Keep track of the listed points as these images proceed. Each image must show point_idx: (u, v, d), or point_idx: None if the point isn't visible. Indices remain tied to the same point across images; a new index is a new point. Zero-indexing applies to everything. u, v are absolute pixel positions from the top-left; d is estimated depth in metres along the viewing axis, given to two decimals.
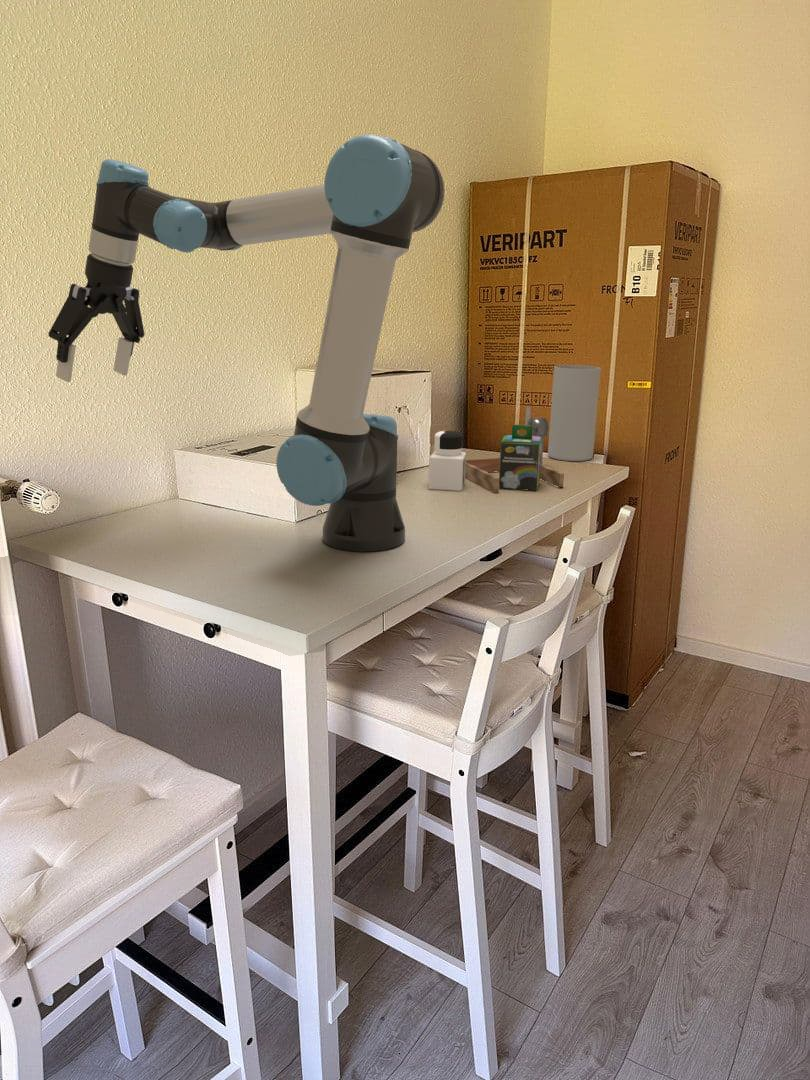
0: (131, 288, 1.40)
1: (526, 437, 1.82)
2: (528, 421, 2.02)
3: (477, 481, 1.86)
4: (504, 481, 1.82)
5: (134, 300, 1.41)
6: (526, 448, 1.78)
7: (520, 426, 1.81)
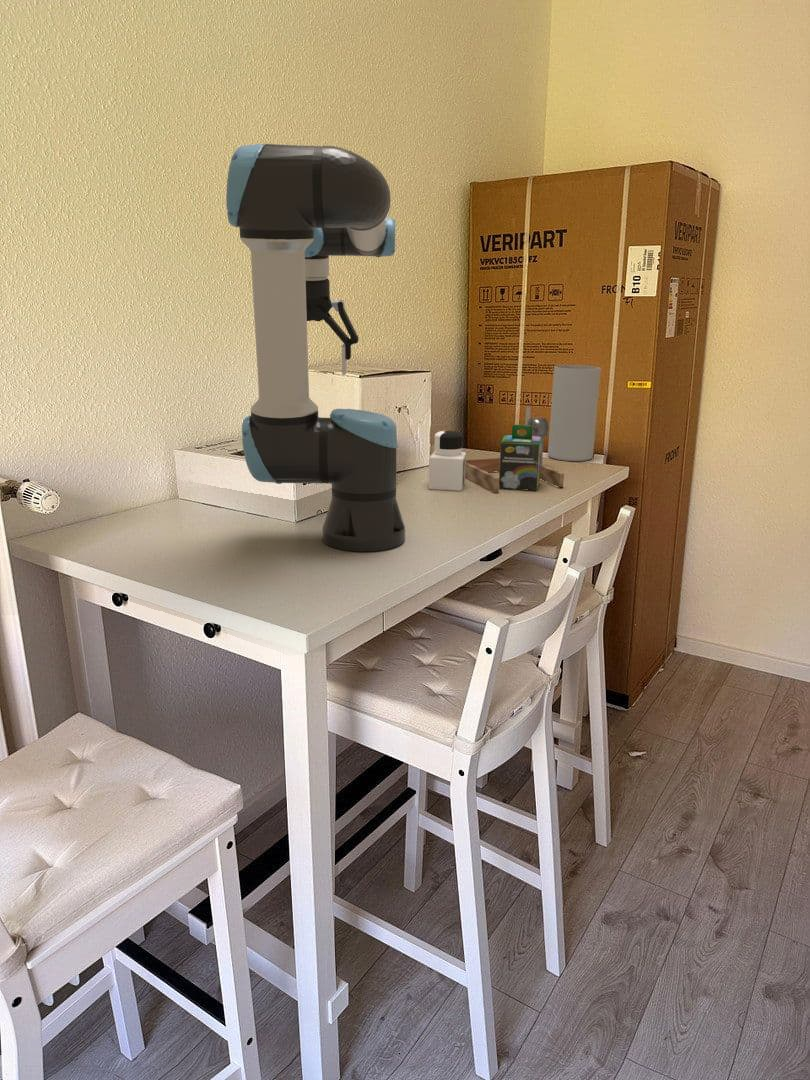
0: (338, 301, 1.74)
1: (526, 437, 1.82)
2: (528, 421, 2.02)
3: (477, 481, 1.86)
4: (504, 481, 1.82)
5: (339, 310, 1.74)
6: (526, 448, 1.78)
7: (520, 426, 1.81)
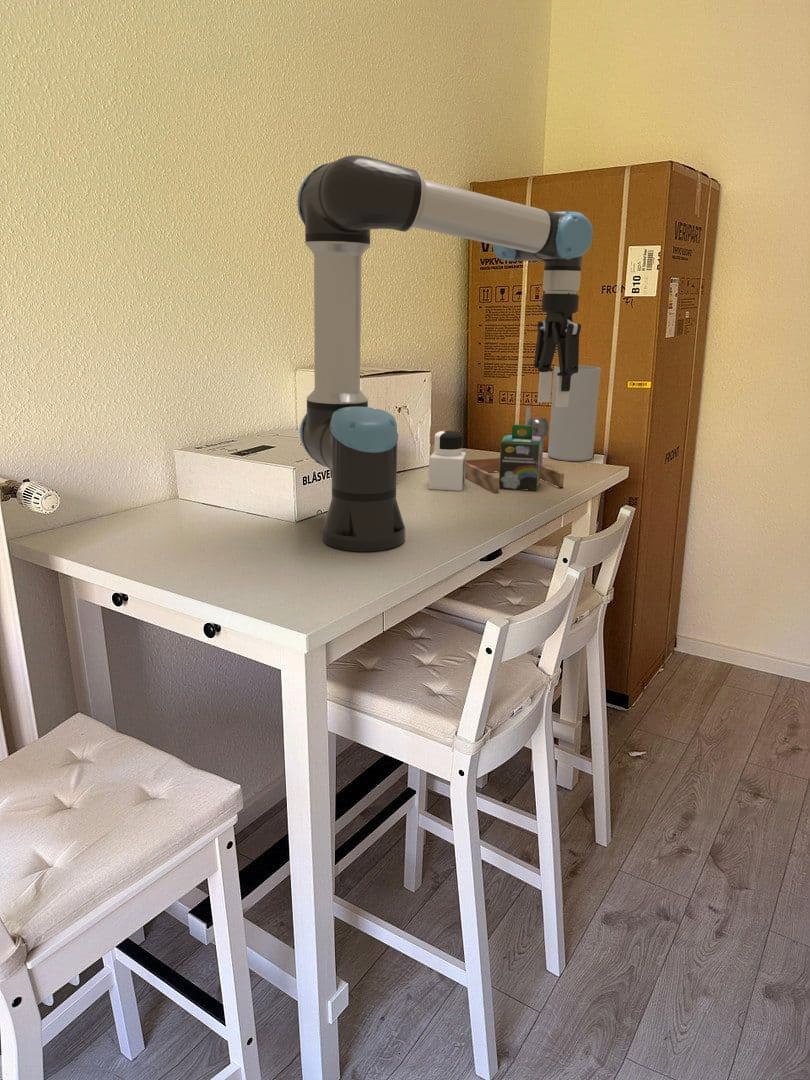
0: (572, 323, 1.58)
1: (526, 437, 1.82)
2: (528, 421, 2.02)
3: (477, 481, 1.86)
4: (504, 481, 1.82)
5: (566, 332, 1.58)
6: (526, 448, 1.78)
7: (520, 426, 1.81)
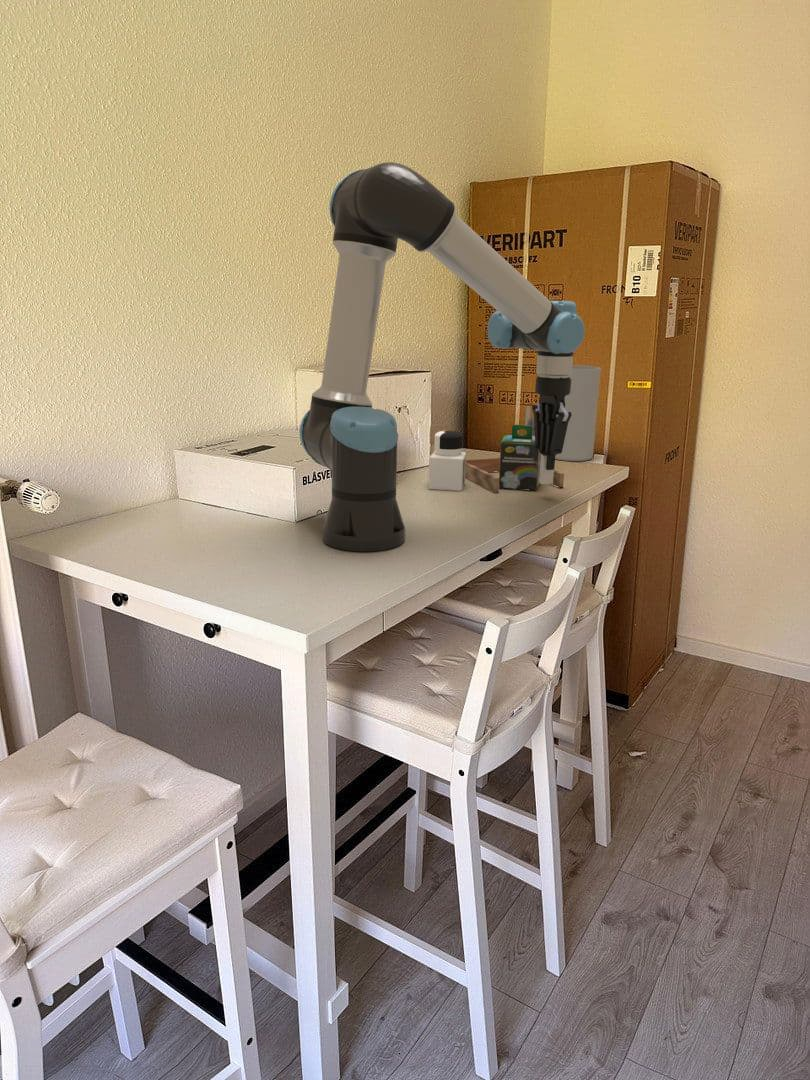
0: (564, 412, 1.64)
1: (526, 437, 1.82)
2: (528, 421, 2.02)
3: (477, 481, 1.86)
4: (504, 481, 1.82)
5: (557, 418, 1.65)
6: (526, 447, 1.78)
7: (520, 426, 1.81)
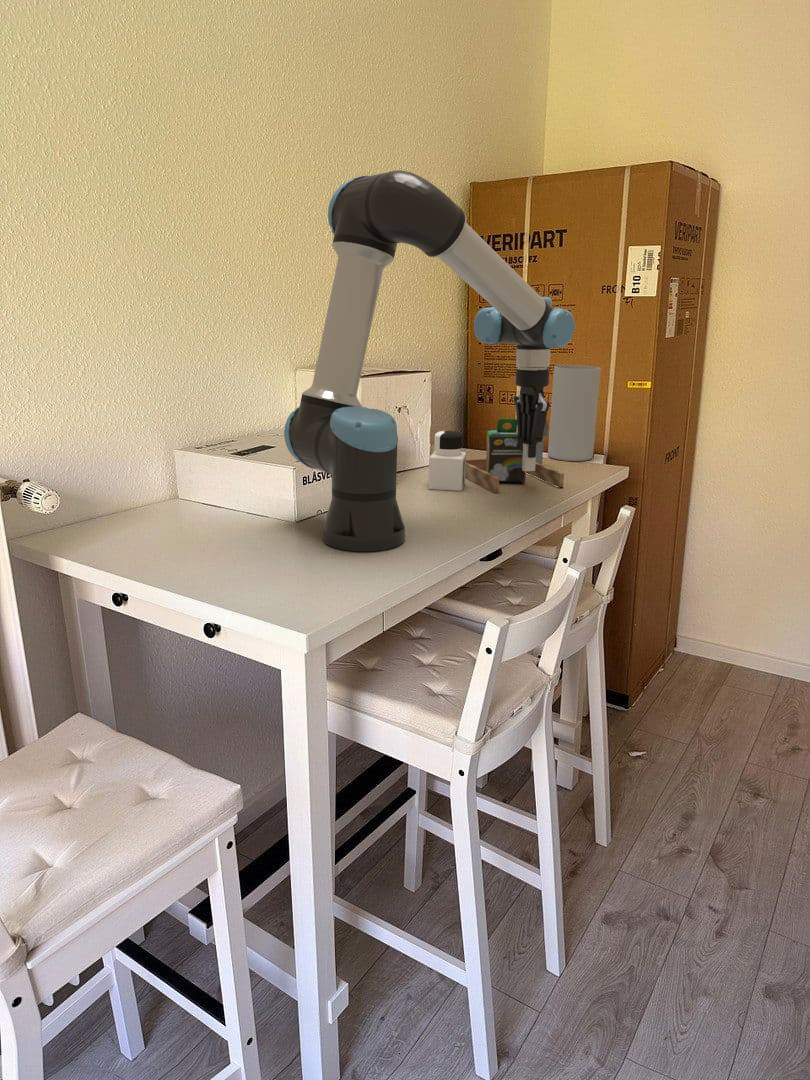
0: (542, 402, 1.73)
1: (511, 430, 1.88)
2: None
3: (477, 481, 1.86)
4: (494, 474, 1.87)
5: (536, 408, 1.74)
6: (514, 440, 1.84)
7: (505, 420, 1.87)
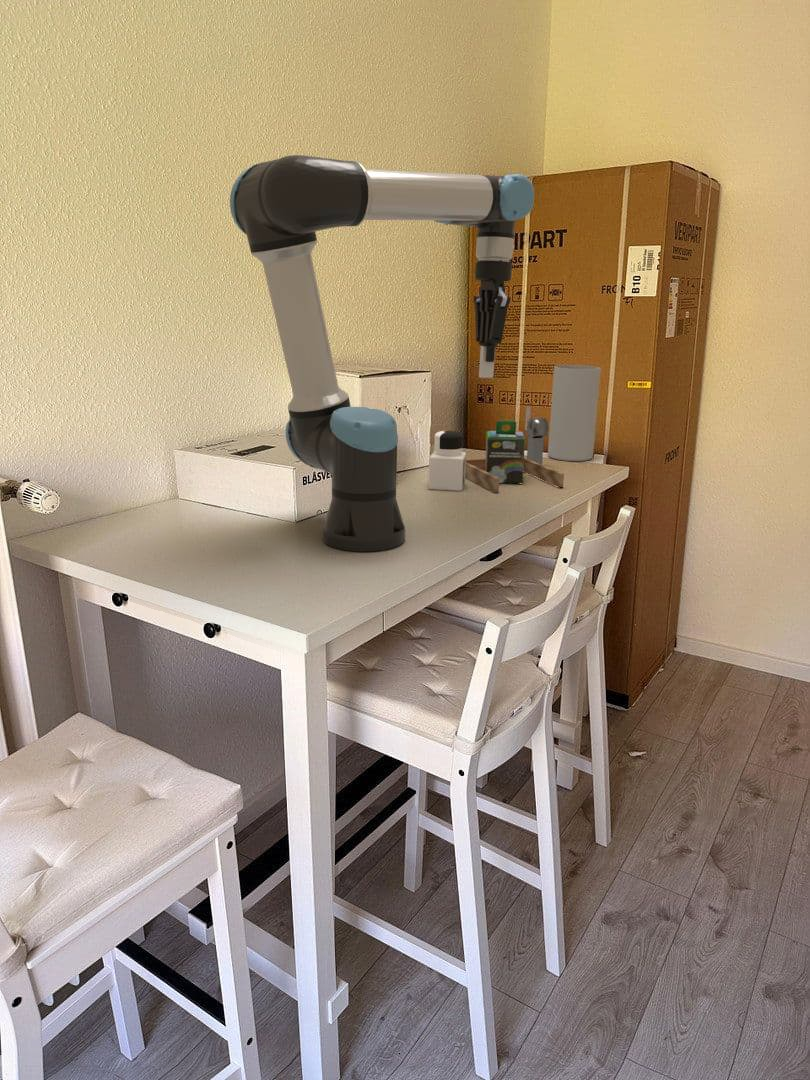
0: (502, 295, 1.57)
1: (510, 432, 1.88)
2: (528, 421, 2.02)
3: (477, 481, 1.86)
4: None
5: (495, 303, 1.58)
6: (513, 442, 1.84)
7: (504, 422, 1.86)
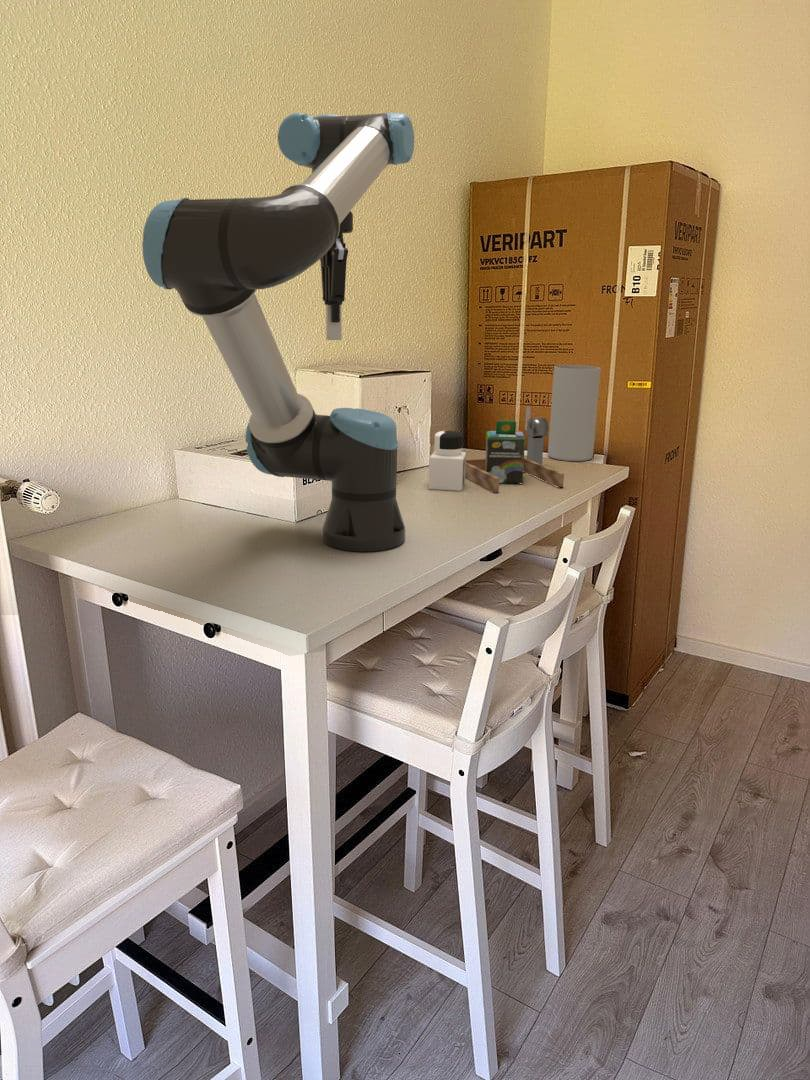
0: (339, 247, 1.42)
1: (510, 432, 1.88)
2: (528, 421, 2.02)
3: (477, 481, 1.86)
4: None
5: (332, 256, 1.43)
6: (513, 442, 1.84)
7: (504, 422, 1.86)
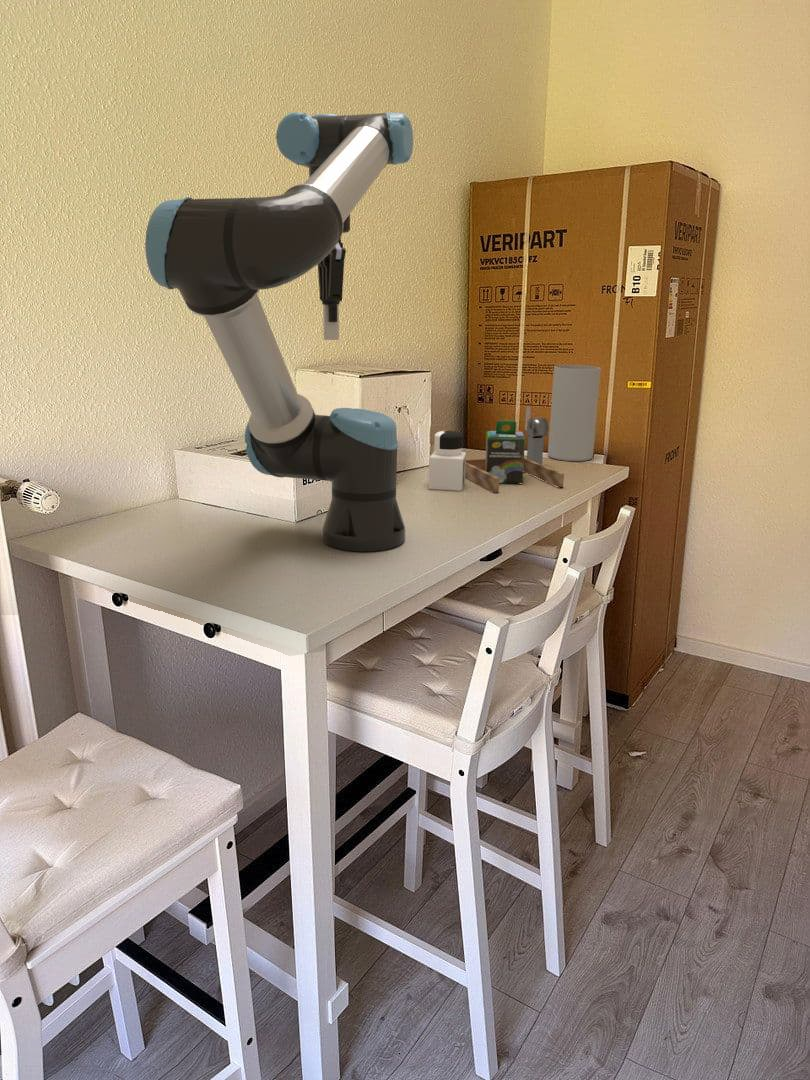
0: (337, 247, 1.42)
1: (510, 432, 1.88)
2: (528, 421, 2.02)
3: (477, 481, 1.86)
4: None
5: (330, 256, 1.43)
6: (513, 442, 1.84)
7: (504, 422, 1.86)
